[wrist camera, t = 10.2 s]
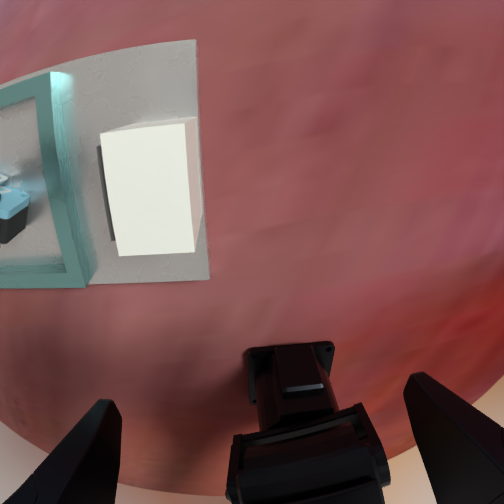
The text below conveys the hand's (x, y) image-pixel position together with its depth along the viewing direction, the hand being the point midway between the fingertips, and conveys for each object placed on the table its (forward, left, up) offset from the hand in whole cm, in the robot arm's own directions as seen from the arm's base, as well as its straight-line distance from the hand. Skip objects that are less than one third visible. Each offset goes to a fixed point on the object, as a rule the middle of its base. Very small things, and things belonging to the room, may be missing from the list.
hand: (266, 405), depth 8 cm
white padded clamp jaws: (+5, +15, -11) cm, 19 cm away
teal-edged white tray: (+5, +15, -12) cm, 20 cm away
